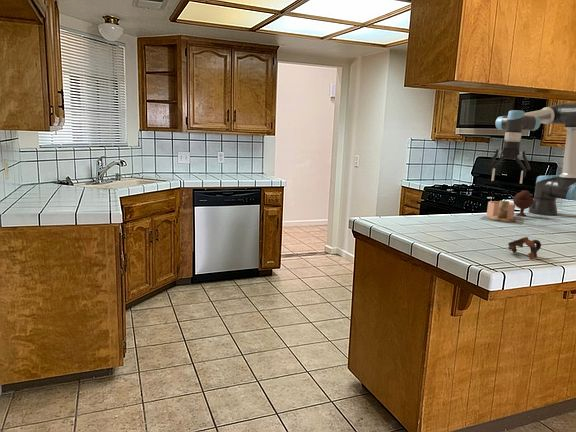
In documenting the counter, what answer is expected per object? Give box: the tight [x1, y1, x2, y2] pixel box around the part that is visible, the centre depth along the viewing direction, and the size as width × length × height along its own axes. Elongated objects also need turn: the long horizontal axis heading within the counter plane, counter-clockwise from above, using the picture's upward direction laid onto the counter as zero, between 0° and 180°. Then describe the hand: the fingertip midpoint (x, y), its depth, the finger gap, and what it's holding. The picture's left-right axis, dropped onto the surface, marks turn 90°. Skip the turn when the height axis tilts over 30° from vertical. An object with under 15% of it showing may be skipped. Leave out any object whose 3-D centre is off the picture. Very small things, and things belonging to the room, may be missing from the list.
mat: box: [479, 215, 525, 226], centre depth 238 cm, size 20×14×1 cm
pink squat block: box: [486, 200, 516, 218], centre depth 250 cm, size 13×13×8 cm
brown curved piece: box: [507, 236, 542, 260], centre depth 168 cm, size 12×10×8 cm
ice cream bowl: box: [512, 189, 534, 218], centre depth 257 cm, size 11×11×15 cm
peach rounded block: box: [489, 200, 517, 224], centre depth 237 cm, size 13×13×10 cm
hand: (506, 182), depth 235 cm, fingers open, 13 cm apart
